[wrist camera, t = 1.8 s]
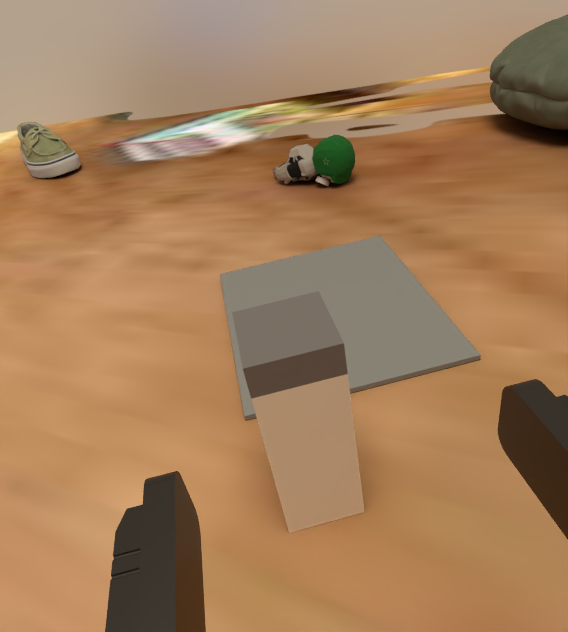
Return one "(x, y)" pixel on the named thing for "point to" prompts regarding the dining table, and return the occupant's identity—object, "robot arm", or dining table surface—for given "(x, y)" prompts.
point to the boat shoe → (45, 151)
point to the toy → (319, 162)
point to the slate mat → (357, 312)
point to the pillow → (534, 76)
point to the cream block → (302, 407)
